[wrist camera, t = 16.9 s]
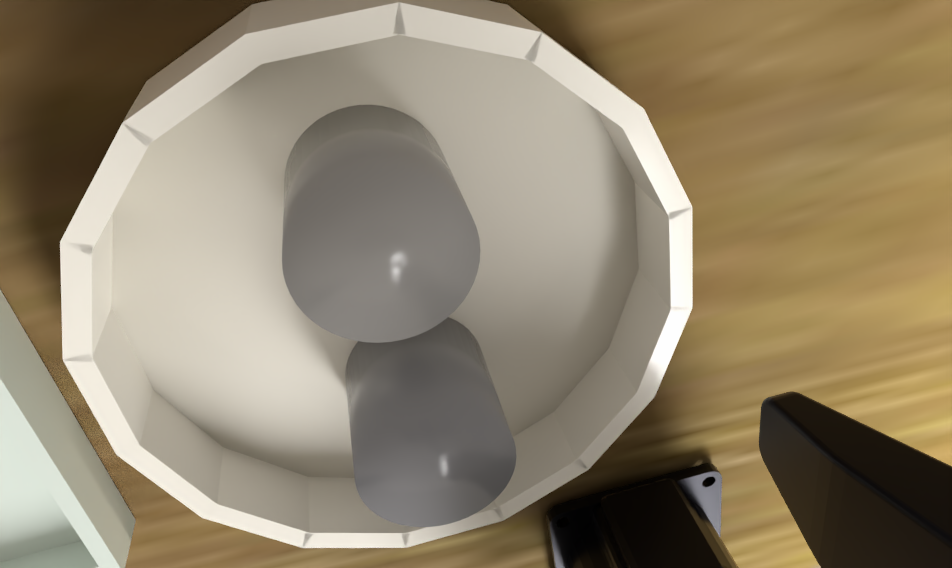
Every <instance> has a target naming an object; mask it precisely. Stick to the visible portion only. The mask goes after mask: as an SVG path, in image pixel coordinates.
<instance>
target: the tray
mask: <svg viewBox="0 0 952 568" xmlns="http://www.w3.org/2000/svg"><path fill="white" fill-rule="evenodd" d="M135 521H136V520H135V518H134V516H133V515H132V513H131V511H130V510H129V508H128V506H127V504H126V503H125V501H124V499H123V498H122V496H121V494H120V493H119V491H118V489H117V487H116V486H115V484H114V482H113V481H112V479H111V477H110V476H109V474H108V472H107V470H106V469H105V467H104V465H103V464H102V462H101V460H100V458H99V457H98V455H97V453H96V452H95V450H94V448H93V447H92V445H91V443H90V441H89V440H88V438H87V436H86V435H85V433H84V431H83V430H82V428H81V426H80V424H79V423H78V421H77V419H76V418H75V416H74V414H73V412H72V411H71V409H70V407H69V406H68V404H67V402H66V401H65V399H64V397H63V395H62V394H61V392H60V390H59V389H58V387H57V385H56V383H55V382H54V380H53V378H52V377H51V375H50V373H49V372H48V370H47V368H46V366H45V365H44V363H43V361H42V360H41V358H40V356H39V355H38V353H37V351H36V349H35V348H34V346H33V344H32V343H31V341H30V339H29V337H28V336H27V334H26V332H25V331H24V329H23V327H22V326H21V324H20V322H19V320H18V319H17V317H16V315H15V314H14V312H13V310H12V309H11V307H10V305H9V303H8V302H7V300H6V298H5V297H4V295H3V293H2V291H1V290H0V568H125V565H126V560H127V556H128V552H129V547H130V543H131V538H132V534H133V530H134V525H135Z"/></svg>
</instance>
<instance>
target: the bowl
mask: <svg viewBox="0 0 952 568" xmlns="http://www.w3.org/2000/svg"><path fill="white" fill-rule="evenodd" d="M355 105H379V106H385V107H389V108H393V109H396V110H398V111H401V112H403V113H405V114H407V115H409V116H411V117H413V118H414V119H415V120H417V121H418V122H419V123H421V124H422V125H423V126H424V127H425V128H426V129H427V130H428V131H429V132H430V133H431V135H432V136H433V137H434V138H435V140H436V141H437V143H438V145H439V147H440V148H441V151H442V153H443V155H444V157H445V159H446V161H447V163H448V166H449V168H450V170H451V172H452V174H453V176H454V179H455V181H456V183H457V185H458V187H459V189H460V192H461V194H462V196H463V198H464V200H465V202H466V205H467V207H468V209H469V211H470V213H471V215H472V218H473V220H474V222H475V225H476V227H477V231H478V235H479V240H480V263H479V268H478V272H477V275H476V278H475V281H474V283H473V285H472V287H471V289H470V291H469V293H468V295H467V296H466V298H465V299H464V301H463V302H462V303H461V304H460V306H459V307H458V308H457V309H456V310H455V311H454V312H453V313H452V314H451V315H450V316H449V318H451V319H454V320H456V321H458V322H459V323H461V324H462V325H464V326H465V327H466V328H467V329H468V330H469V331H470V332H471V333H472V334H473V335H474V336H475V338H476V340H477V341H478V343H479V346H480V348H481V351H482V353H483V356H484V359H485V362H486V364H487V367H488V370H489V373H490V375H491V378H492V381H493V384H494V387H495V389H496V392H497V395H498V398H499V400H500V403H501V406H502V409H503V412H504V414H505V417H506V420H507V423H508V425H509V428H510V431H511V434H512V436H513V439H514V442H515V446H516V455H517V458H516V465H515V469H514V473H513V475H512V477H511V479H510V481H509V483H508V484H507V486H506V488H505V489H504V490H503V491H502V493H501V494H500V495H499V496H498V497H497V498H496V499H495V500H494V501H493V502H491V503H490V504H489V505H488V506H486V507H485V508H483V509H482V510H480V511H479V512H477V513H475V514H473V515H471V516H469V517H467V518H465V519H462V520H460V521H457V522H453V523H450V524H446V525H441V526H434V527H410V526H404V525H399V524H396V523H393V522H390V521H388V520H385V519H383V518H381V517H380V516H378V515H376V514H375V513H374V512H372V511H371V510H370V509H369V508H368V507H367V506H366V505H365V504H364V503H363V501H362V499H361V498H360V496H359V494H358V491H357V489H356V484H355V478H354V467H353V456H352V445H351V435H350V424H349V413H348V402H347V391H346V381H345V371H346V364H347V361H348V357H349V355H350V353H351V351H352V349H353V348H354V346H355V345H356V343H357V342H358V341H354V340H350V339H346V338H343V337H340V336H338V335H335V334H332V333H331V332H329V331H327V330H325V329H323V328H321V327H320V326H318V325H317V324H316V323H314V322H313V321H312V320H310V319H309V318H308V317H307V316H306V315H305V314H304V313H303V312H302V311H301V309H300V308H299V307H298V306H297V305H296V303H295V301H294V300H293V298H292V296H291V295H290V293H289V290H288V288H287V285H286V283H285V279H284V275H283V268H282V240H283V207H284V178H285V169H286V164H287V160H288V158H289V155H290V152H291V150H292V148H293V146H294V145H295V143H296V141H297V140H298V139H299V137H300V136H301V135H302V133H303V132H304V131H305V130H306V129H307V128H308V127H309V126H310V125H312V124H313V123H314V122H315V121H317V120H318V119H320V118H321V117H323V116H325V115H326V114H329V113H331V112H333V111H335V110H338V109H341V108H345V107H349V106H355ZM60 265H61V306H62V348H63V361H64V363H65V365H66V367H67V368H68V370H69V372H70V374H71V375H72V377H73V379H74V381H75V382H76V384H77V386H78V388H79V389H80V391H81V393H82V395H83V397H84V398H85V400H86V402H87V404H88V405H89V407H90V409H91V411H92V412H93V414H94V416H95V418H96V419H97V421H98V423H99V425H100V426H101V428H102V430H103V432H104V433H105V435H106V437H107V439H108V441H109V442H110V444H111V446H112V448H113V449H114V451H115V453H116V455H117V456H119V457H120V458H121V459H123V460H124V461H126V462H127V463H128V464H130V465H131V466H132V467H134V468H135V469H136V470H138V471H139V472H140V473H142V474H143V475H145V476H146V477H147V478H149V479H150V480H151V481H153V482H154V483H155V484H157V485H158V486H160V487H161V488H162V489H164V490H165V491H166V492H168V493H169V494H170V495H172V496H173V497H174V498H176V499H177V500H179V501H180V502H181V503H183V504H184V505H185V506H187V507H188V508H189V509H191V510H192V511H194V512H195V513H196V514H198V515H199V516H200V517H202V518H204V519H208V520H211V521H214V522H218V523H221V524H224V525H228V526H231V527H234V528H238V529H241V530H244V531H248V532H251V533H254V534H258V535H261V536H264V537H268V538H271V539H274V540H278V541H281V542H285V543H288V544H291V545H295V546H298V547H301V548H406V547H410V546H414V545H417V544H421V543H424V542H428V541H432V540H435V539H439V538H443V537H446V536H450V535H453V534H457V533H461V532H464V531H468V530H471V529H475V528H479V527H482V526H486V525H489V524H493V523H497V522H500V521H504V520H505V519H507V518H509V517H510V516H512V515H514V514H515V513H517V512H519V511H520V510H522V509H524V508H525V507H527V506H529V505H530V504H532V503H534V502H535V501H537V500H539V499H540V498H542V497H544V496H545V495H547V494H549V493H550V492H552V491H554V490H555V489H557V488H559V487H560V486H562V485H564V484H565V483H567V482H569V481H570V480H572V479H574V478H575V477H577V476H579V475H580V474H582V473H584V472H585V471H587V470H589V469H590V467H591V466H592V465H593V464H594V463H595V462H596V461H597V460H598V459H599V458H600V457H601V455H602V454H603V453H604V452H605V451H606V450H607V449H608V448H609V447H610V446H611V444H612V443H613V442H614V441H615V440H616V439H617V438H618V437H619V436H620V435H621V433H622V432H623V431H624V430H625V429H626V428H627V427H628V426H629V425H630V424H631V422H632V421H633V420H634V419H635V418H636V417H637V416H638V415H639V414H640V413H641V412H642V410H643V409H644V408H645V407H646V406H647V405H648V404H649V403H650V402H651V401H652V399H653V398H654V397H655V395H656V392H657V390H658V388H659V385H660V383H661V381H662V378H663V376H664V374H665V371H666V369H667V366H668V364H669V362H670V359H671V357H672V355H673V352H674V350H675V348H676V345H677V343H678V340H679V338H680V336H681V333H682V331H683V329H684V326H685V324H686V322H687V319H688V317H689V314H690V312H691V310H692V206H691V204H690V202H689V200H688V198H687V196H686V193H685V191H684V189H683V187H682V185H681V183H680V181H679V179H678V177H677V175H676V173H675V171H674V169H673V167H672V165H671V163H670V161H669V159H668V157H667V155H666V153H665V151H664V149H663V147H662V145H661V143H660V141H659V139H658V137H657V135H656V133H655V131H654V129H653V127H652V125H651V123H650V121H649V119H648V117H647V114H646V112H645V110H644V108H642V107H641V106H640V105H638V104H637V103H636V102H635V101H633V100H632V99H631V98H630V97H628V96H627V95H626V94H624V93H623V92H622V91H621V90H619V89H618V88H617V87H615V86H614V85H613V84H612V83H610V82H609V81H608V80H606V79H605V78H604V77H603V76H601V75H600V74H599V73H597V72H596V71H595V70H593V69H592V68H591V67H589V66H588V65H587V64H585V63H584V62H583V61H581V60H580V59H579V58H577V57H576V56H575V55H573V54H572V53H571V52H569V51H568V50H567V49H565V48H564V47H563V46H561V45H560V44H559V43H557V42H556V41H555V40H553V39H552V38H551V37H550V36H548V35H547V34H546V33H544V32H543V31H542V30H540V29H539V28H538V27H536V26H535V25H534V24H532V23H531V22H530V21H528V20H527V19H526V18H524V17H523V16H522V15H520V14H519V13H518V12H516V11H515V10H514V9H512V8H511V7H510V6H509V5H507V4H502V3H498V2H493V1H489V0H270V1H265V2H260V3H256V4H252V5H250V6H249V7H248V8H246V9H245V10H244V11H242V12H241V13H239V14H238V15H237V16H235V17H234V18H233V19H231V20H230V21H228V22H227V23H226V24H224V25H223V26H222V27H220V28H219V29H217V30H216V31H215V32H213V33H212V34H210V35H209V36H208V37H206V38H205V39H204V40H202V41H201V42H199V43H198V44H197V45H195V46H194V47H193V48H191V49H190V50H188V51H187V52H186V53H184V54H183V55H182V56H180V57H179V58H177V59H176V60H175V61H173V62H172V63H171V64H169V65H168V66H166V67H165V68H164V69H162V70H161V71H160V72H158V73H157V74H155V75H154V76H153V77H151V78H150V79H149V80H147V81H146V83H145V85H144V86H143V88H142V90H141V92H140V93H139V95H138V97H137V98H136V100H135V102H134V104H133V105H132V107H131V109H130V110H129V112H128V114H127V115H126V117H125V119H124V121H123V122H122V125H121V126H120V128H119V130H118V132H117V134H116V136H115V138H114V140H113V142H112V144H111V146H110V147H109V149H108V151H107V153H106V155H105V157H104V159H103V161H102V163H101V165H100V167H99V168H98V170H97V172H96V174H95V176H94V178H93V180H92V182H91V184H90V186H89V188H88V189H87V191H86V193H85V195H84V197H83V199H82V201H81V203H80V205H79V207H78V209H77V210H76V212H75V214H74V216H73V218H72V220H71V222H70V224H69V226H68V228H67V230H66V231H65V233H64V235H63V237H62V239H61V241H60Z"/></svg>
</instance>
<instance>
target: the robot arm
mask: <svg viewBox="0 0 952 568" xmlns="http://www.w3.org/2000/svg"><path fill="white" fill-rule="evenodd" d="M759 448H760V453H761V456H762V458H763V461H764V463H765V465H766V467H767V468H768V470H769V472H770V474H771V476H772V478H773V480H774V482H775V484H776V485H777V487H778V489H779V491H780V493H781V495H782V497H783V499H784V500H785V502H786V504H787V506H788V508H789V510H790V512H791V514H792V516H793V517H794V519H795V521H796V523H797V525H798V527H799V529H800V531H801V532H802V534H803V536H804V538H805V540H806V542H807V544H808V546H809V547H810V549H811V551H812V553H813V555H814V556H815V558H816V560H817V562H818V563H819V565H820V566H821V568H952V466H950V465H948V464H946V463H944V462H941V461H939V460H937V459H935V458H933V457H931V456H929V455H927V454H925V453H923V452H921V451H919V450H916V449H914V448H912V447H910V446H908V445H906V444H904V443H902V442H900V441H898V440H896V439H894V438H892V437H889V436H887V435H885V434H883V433H881V432H879V431H877V430H875V429H873V428H871V427H869V426H867V425H864V424H862V423H860V422H858V421H856V420H854V419H852V418H850V417H848V416H846V415H844V414H842V413H839V412H837V411H835V410H833V409H831V408H829V407H827V406H825V405H823V404H821V403H819V402H817V401H814V400H812V399H810V398H808V397H806V396H804V395H802V394H800V393H797V392H787V393H783V394H779V395H776V396H772V397H768V398H766V399H765V400H764V401H763V403H762V407H761V418H760V433H759ZM721 492H722V477H721V474H720V473H719V471H718V470H717V468H716V467H715V466H714V465H713V464H703V465H699V466H696V467H692V468H689V469H685V470H681V471H678V472H674V473H671V474H667V475H663V476H660V477H656V478H653V479H649V480H645V481H642V482H638V483H635V484H631V485H627V486H624V487H620V488H616V489H613V490H609V491H606V492H602V493H598V494H595V495H591V496H588V497H584V498H580V499H577V500H573V501H570V502H566V503H562V504H559V505H556V506H554V507H552V508H551V509H550V510H549V511H548V513H547V517H546V519H547V525H548V531H549V538H550V544H551V551H552V557H553V564H554V568H738V566H737V564H736V563H735V561H734V560H733V558H732V556H731V555H730V553H729V551H728V550H727V548H726V546H725V545H724V543H723V541H722V540H721V538H720V528H721Z"/></svg>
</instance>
